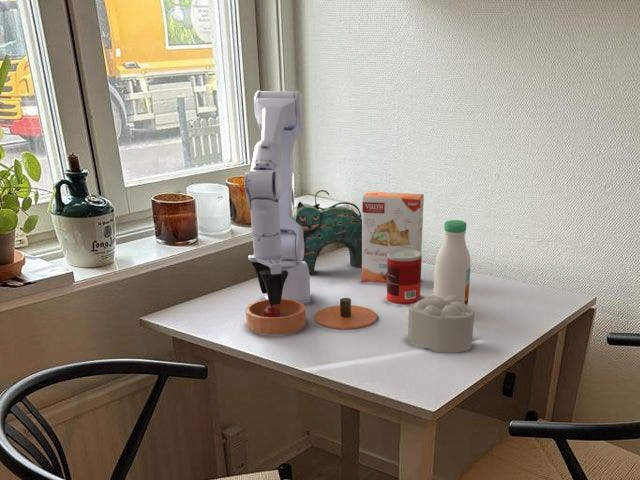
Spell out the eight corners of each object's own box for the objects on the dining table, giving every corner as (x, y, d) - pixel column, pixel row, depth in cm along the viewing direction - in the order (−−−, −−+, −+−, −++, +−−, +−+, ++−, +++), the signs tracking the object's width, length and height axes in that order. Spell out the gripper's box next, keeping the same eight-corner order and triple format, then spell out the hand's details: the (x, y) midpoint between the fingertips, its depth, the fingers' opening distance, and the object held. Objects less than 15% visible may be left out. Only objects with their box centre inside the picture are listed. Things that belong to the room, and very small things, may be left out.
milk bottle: (457, 322, 159) (464, 228, 149) (426, 316, 163) (430, 223, 152) (472, 312, 165) (480, 220, 154) (441, 306, 168) (447, 216, 157)
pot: (296, 312, 165) (295, 295, 163) (313, 331, 155) (312, 313, 153) (241, 320, 161) (239, 302, 159) (255, 340, 151) (254, 321, 149)
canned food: (424, 297, 173) (426, 250, 167) (412, 308, 167) (413, 260, 161) (394, 293, 176) (395, 247, 170) (381, 303, 170) (382, 256, 164)
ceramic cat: (299, 277, 187) (295, 194, 176) (290, 270, 192) (286, 189, 181) (369, 267, 194) (370, 187, 183) (359, 261, 199) (359, 182, 188)
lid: (363, 306, 168) (363, 286, 166) (386, 326, 158) (386, 305, 155) (306, 314, 164) (305, 293, 162) (326, 335, 153) (326, 313, 151)
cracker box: (361, 283, 182) (361, 195, 171) (366, 276, 187) (366, 190, 176) (417, 287, 180) (420, 198, 168) (420, 280, 184) (424, 192, 173)
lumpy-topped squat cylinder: (429, 327, 157) (431, 287, 152) (482, 341, 150) (486, 300, 145) (401, 342, 150) (402, 301, 146) (455, 357, 143) (458, 315, 139)
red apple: (278, 318, 160) (277, 298, 158) (283, 324, 158) (281, 303, 155) (262, 320, 159) (260, 300, 157) (266, 326, 157) (265, 306, 154)
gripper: (239, 226, 153) (245, 289, 160) (254, 243, 141) (259, 311, 149) (272, 223, 155) (277, 286, 162) (289, 240, 143) (293, 307, 151)
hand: (271, 298), depth 156 cm, fingers open, 7 cm apart
